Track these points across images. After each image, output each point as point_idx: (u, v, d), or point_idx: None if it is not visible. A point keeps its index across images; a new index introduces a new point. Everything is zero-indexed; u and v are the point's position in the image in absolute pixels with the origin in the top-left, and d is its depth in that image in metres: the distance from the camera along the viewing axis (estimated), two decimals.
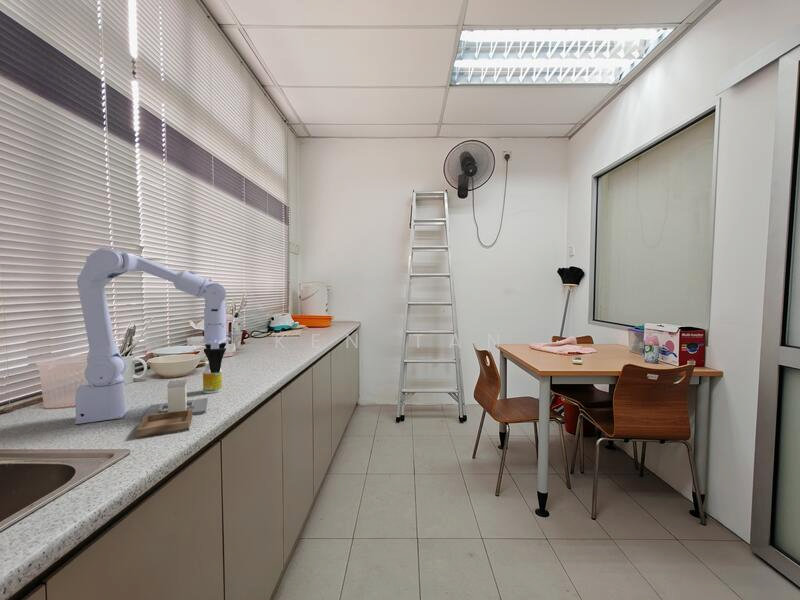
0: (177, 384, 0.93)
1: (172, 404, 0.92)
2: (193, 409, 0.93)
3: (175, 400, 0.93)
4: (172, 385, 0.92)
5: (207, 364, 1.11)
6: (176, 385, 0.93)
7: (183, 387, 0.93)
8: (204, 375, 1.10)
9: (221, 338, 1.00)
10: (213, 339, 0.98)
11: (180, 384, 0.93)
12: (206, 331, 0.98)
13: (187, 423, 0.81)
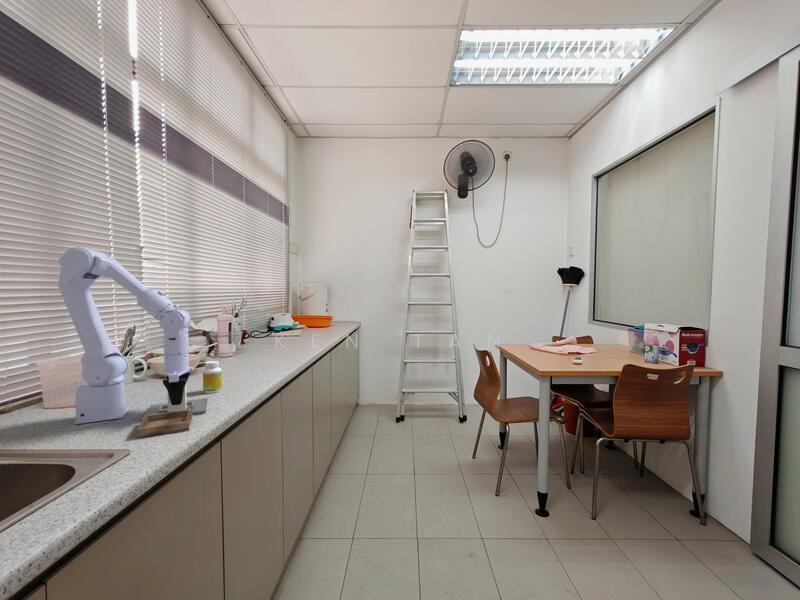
0: None
1: None
2: (193, 409, 0.93)
3: None
4: None
5: (207, 364, 1.11)
6: None
7: None
8: (204, 375, 1.10)
9: (182, 368, 0.93)
10: (173, 370, 0.92)
11: None
12: (166, 361, 0.92)
13: (187, 423, 0.81)
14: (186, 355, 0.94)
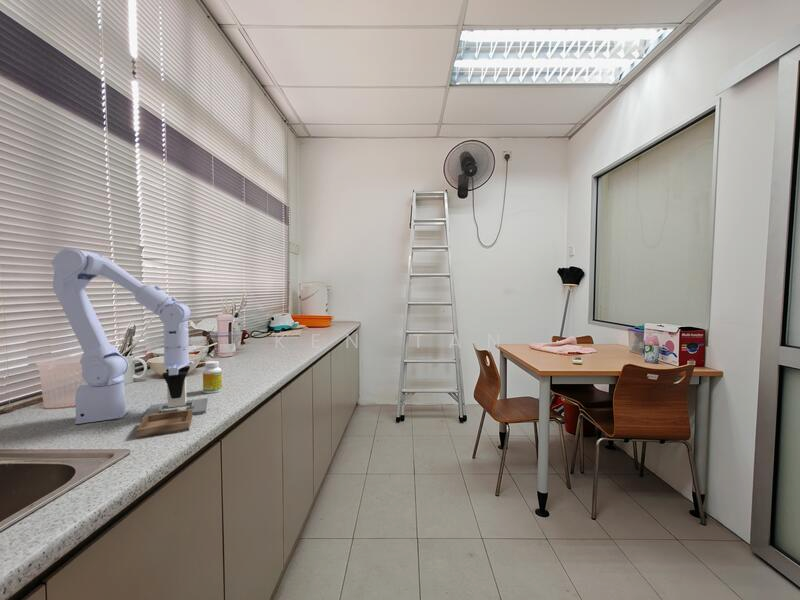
0: None
1: None
2: (193, 409, 0.93)
3: None
4: None
5: (207, 364, 1.11)
6: None
7: None
8: (204, 375, 1.10)
9: (182, 362, 0.93)
10: (173, 363, 0.92)
11: None
12: (166, 355, 0.92)
13: (187, 423, 0.81)
14: (186, 349, 0.94)
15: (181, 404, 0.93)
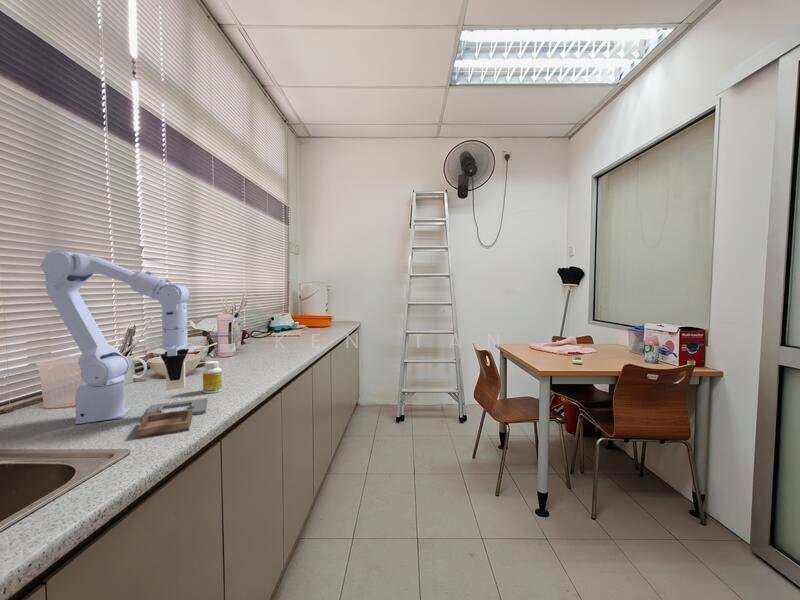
0: None
1: None
2: (193, 409, 0.93)
3: None
4: None
5: (207, 364, 1.11)
6: None
7: None
8: (204, 375, 1.10)
9: (181, 344, 0.91)
10: (172, 345, 0.90)
11: None
12: (164, 336, 0.90)
13: (187, 423, 0.81)
14: (185, 330, 0.93)
15: (180, 386, 0.92)
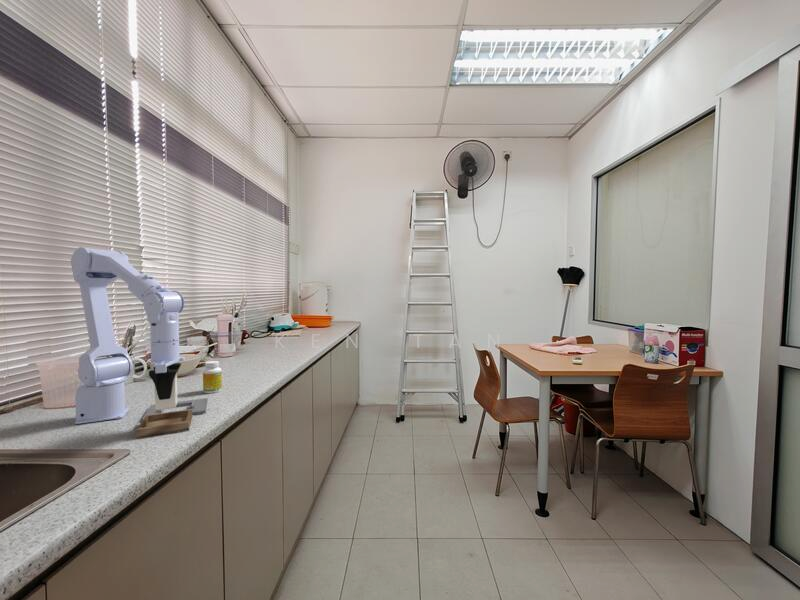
0: None
1: None
2: (193, 409, 0.93)
3: None
4: None
5: (207, 364, 1.11)
6: None
7: None
8: (204, 375, 1.10)
9: (172, 358, 0.82)
10: (161, 360, 0.80)
11: None
12: (152, 350, 0.80)
13: (187, 423, 0.81)
14: (176, 343, 0.83)
15: (171, 406, 0.82)
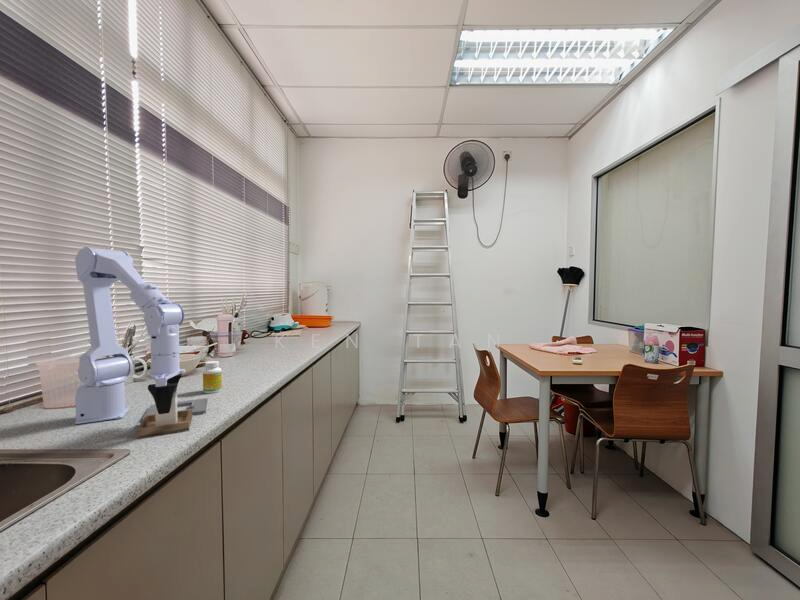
0: None
1: (160, 417, 0.81)
2: (193, 409, 0.93)
3: None
4: None
5: (207, 364, 1.11)
6: None
7: (173, 398, 0.82)
8: (204, 375, 1.10)
9: (172, 371, 0.82)
10: (161, 373, 0.80)
11: None
12: (153, 363, 0.81)
13: (187, 423, 0.81)
14: (176, 356, 0.83)
15: None
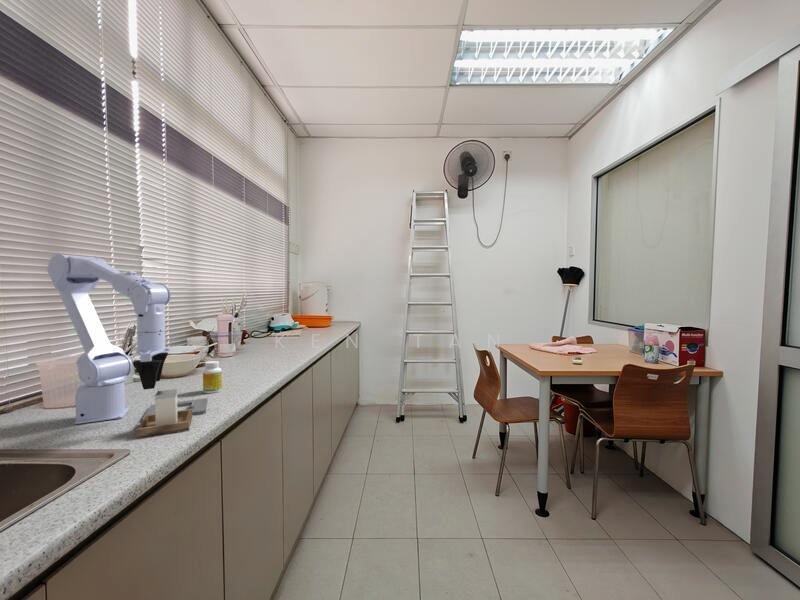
0: (166, 395, 0.82)
1: (160, 417, 0.81)
2: (193, 409, 0.93)
3: (164, 412, 0.82)
4: (160, 396, 0.81)
5: (207, 364, 1.11)
6: (165, 396, 0.82)
7: (173, 398, 0.82)
8: (204, 375, 1.10)
9: (157, 348, 0.85)
10: (147, 349, 0.84)
11: (170, 394, 0.82)
12: (139, 340, 0.84)
13: (187, 423, 0.81)
14: (162, 334, 0.86)
15: None
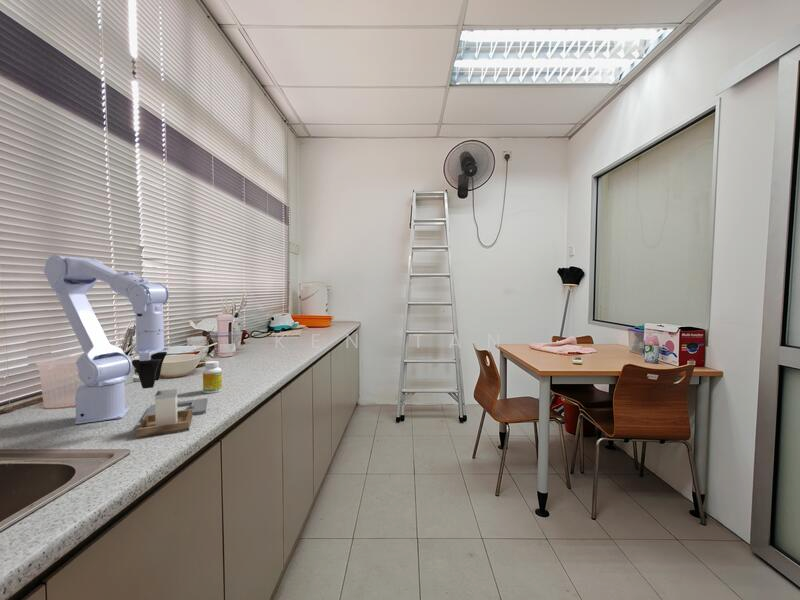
0: (166, 395, 0.82)
1: (160, 417, 0.81)
2: (193, 409, 0.93)
3: (164, 412, 0.82)
4: (160, 396, 0.81)
5: (207, 364, 1.11)
6: (165, 396, 0.82)
7: (173, 398, 0.82)
8: (204, 375, 1.10)
9: (156, 347, 0.86)
10: (146, 349, 0.84)
11: (170, 394, 0.82)
12: (137, 339, 0.84)
13: (187, 423, 0.81)
14: (160, 333, 0.87)
15: None
